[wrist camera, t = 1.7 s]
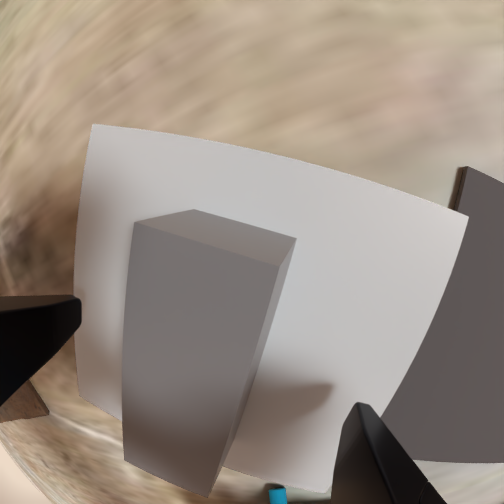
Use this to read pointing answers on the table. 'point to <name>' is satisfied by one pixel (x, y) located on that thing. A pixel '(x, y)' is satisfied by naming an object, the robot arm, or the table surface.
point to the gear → (278, 496)
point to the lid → (246, 302)
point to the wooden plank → (23, 405)
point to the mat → (461, 346)
